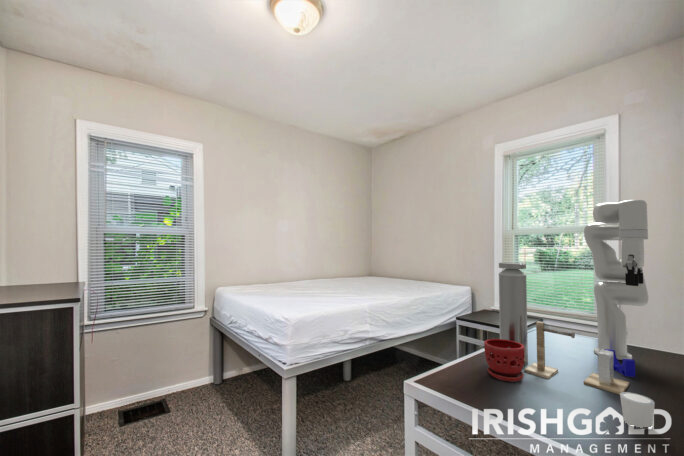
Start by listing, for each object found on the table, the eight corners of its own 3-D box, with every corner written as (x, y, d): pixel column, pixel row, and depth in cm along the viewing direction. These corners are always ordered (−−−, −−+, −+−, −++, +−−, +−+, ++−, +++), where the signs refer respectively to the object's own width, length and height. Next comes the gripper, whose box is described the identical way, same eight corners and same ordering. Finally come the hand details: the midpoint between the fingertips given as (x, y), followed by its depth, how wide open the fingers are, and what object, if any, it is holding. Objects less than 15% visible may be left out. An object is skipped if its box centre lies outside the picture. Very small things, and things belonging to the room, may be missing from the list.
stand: (534, 365, 124) (533, 318, 125) (579, 377, 113) (578, 325, 114) (524, 371, 118) (523, 322, 119) (570, 385, 107) (569, 330, 108)
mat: (592, 374, 116) (592, 372, 116) (629, 384, 108) (629, 382, 108) (583, 384, 108) (583, 381, 108) (622, 395, 100) (621, 392, 100)
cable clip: (600, 363, 127) (599, 348, 127) (612, 364, 126) (612, 349, 126) (621, 376, 115) (620, 359, 115) (635, 377, 114) (634, 360, 114)
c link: (603, 377, 111) (602, 349, 112) (614, 380, 109) (613, 351, 109) (598, 382, 107) (597, 353, 108) (610, 385, 105) (609, 355, 105)
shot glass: (613, 417, 87) (613, 392, 88) (636, 416, 88) (635, 391, 88) (639, 432, 81) (638, 404, 81) (663, 431, 81) (662, 403, 82)
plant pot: (529, 376, 114) (528, 342, 115) (519, 388, 105) (518, 351, 105) (491, 366, 123) (491, 335, 124) (479, 376, 114) (478, 343, 114)
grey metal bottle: (527, 368, 122) (525, 264, 123) (498, 362, 127) (497, 263, 129) (528, 359, 130) (526, 263, 132) (501, 354, 136) (499, 262, 137)
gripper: (623, 235, 118) (625, 281, 118) (613, 235, 107) (615, 285, 107) (651, 235, 112) (653, 283, 112) (643, 234, 102) (645, 288, 101)
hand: (634, 284), depth 109 cm, fingers open, 9 cm apart
